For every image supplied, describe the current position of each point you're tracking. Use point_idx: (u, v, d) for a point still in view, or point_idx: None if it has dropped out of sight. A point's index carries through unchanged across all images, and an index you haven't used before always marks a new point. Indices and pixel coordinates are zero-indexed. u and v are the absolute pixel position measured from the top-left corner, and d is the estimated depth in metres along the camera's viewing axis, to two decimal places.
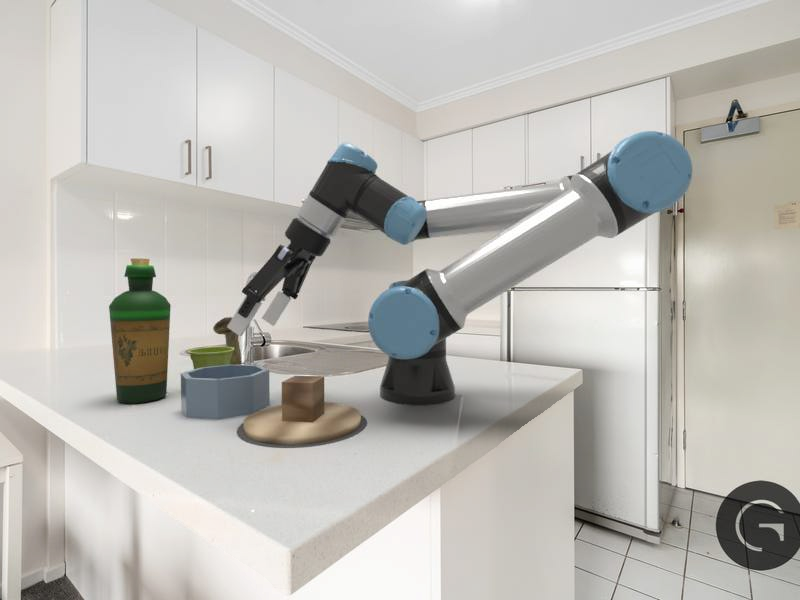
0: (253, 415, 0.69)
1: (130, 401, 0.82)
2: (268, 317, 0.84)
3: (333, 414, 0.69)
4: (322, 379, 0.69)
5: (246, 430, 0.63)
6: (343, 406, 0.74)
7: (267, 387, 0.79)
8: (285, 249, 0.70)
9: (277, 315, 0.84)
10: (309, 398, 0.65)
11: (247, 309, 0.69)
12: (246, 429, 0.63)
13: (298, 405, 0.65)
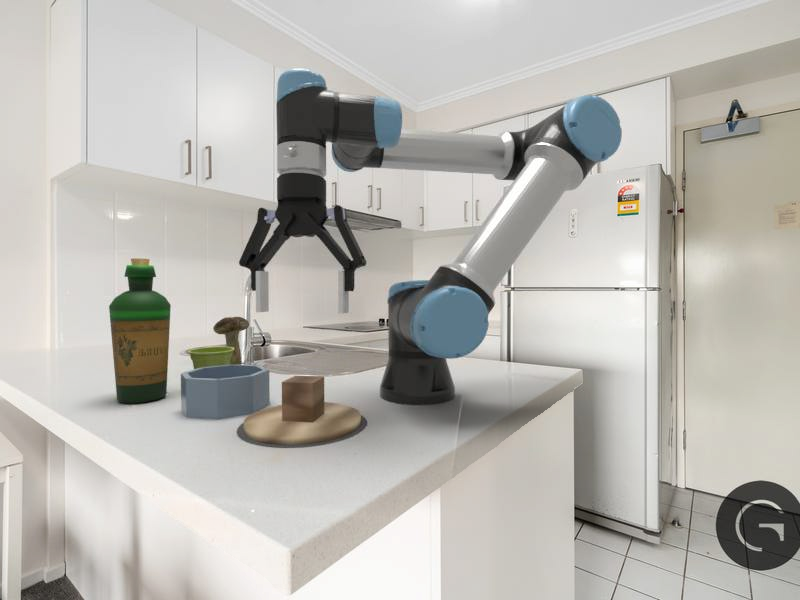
0: (253, 415, 0.69)
1: (130, 401, 0.82)
2: (263, 306, 0.69)
3: (333, 414, 0.69)
4: (322, 379, 0.69)
5: (246, 430, 0.63)
6: (343, 406, 0.74)
7: (267, 387, 0.79)
8: (342, 207, 0.66)
9: (267, 297, 0.70)
10: (309, 398, 0.65)
11: (353, 281, 0.66)
12: (246, 429, 0.63)
13: (298, 405, 0.65)
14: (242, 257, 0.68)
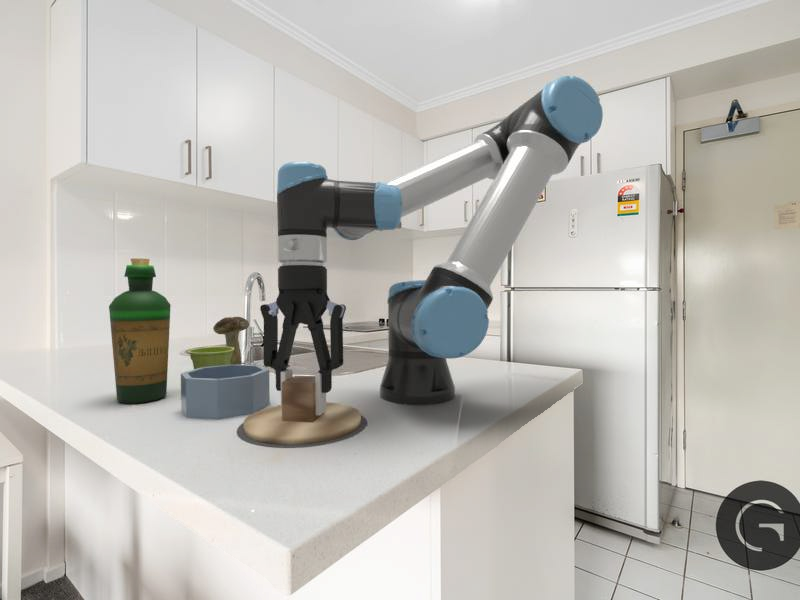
0: (253, 415, 0.69)
1: (130, 401, 0.82)
2: None
3: (333, 414, 0.69)
4: None
5: (246, 430, 0.63)
6: (343, 406, 0.74)
7: (267, 387, 0.79)
8: (343, 307, 0.66)
9: None
10: (309, 398, 0.65)
11: (331, 381, 0.68)
12: (246, 429, 0.63)
13: (298, 405, 0.65)
14: (265, 358, 0.68)
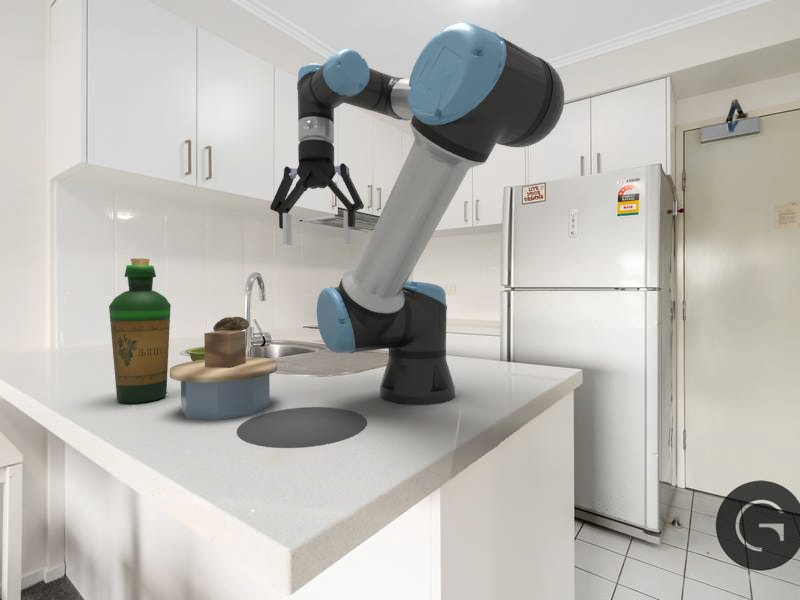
0: (182, 364, 0.79)
1: (130, 401, 0.82)
2: (288, 240, 0.93)
3: (253, 363, 0.79)
4: (243, 332, 0.79)
5: (170, 372, 0.73)
6: (265, 359, 0.84)
7: (267, 387, 0.79)
8: None
9: (290, 234, 0.94)
10: (228, 347, 0.75)
11: (354, 219, 0.91)
12: (170, 372, 0.73)
13: (218, 353, 0.75)
14: (272, 203, 0.92)
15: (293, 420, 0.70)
